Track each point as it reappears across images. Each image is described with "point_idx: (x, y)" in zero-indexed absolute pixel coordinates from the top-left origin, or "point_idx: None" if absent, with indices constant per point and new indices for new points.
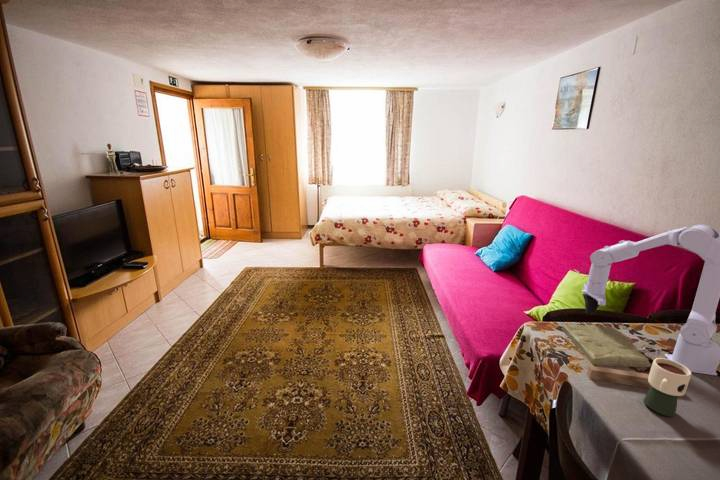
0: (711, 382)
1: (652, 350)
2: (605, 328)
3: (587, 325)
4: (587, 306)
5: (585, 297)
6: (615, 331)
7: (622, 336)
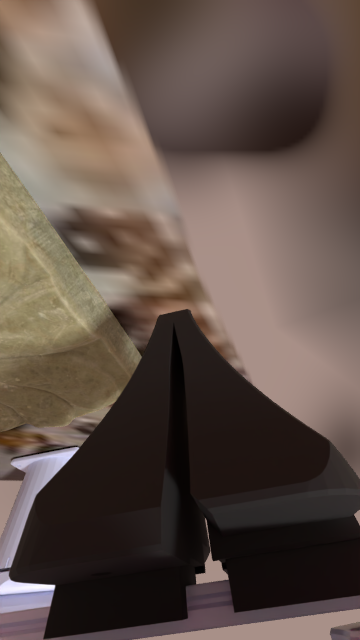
0: (14, 479)
1: (88, 431)
2: (100, 365)
3: (47, 291)
4: (139, 372)
5: (132, 515)
6: (83, 397)
7: (46, 413)
